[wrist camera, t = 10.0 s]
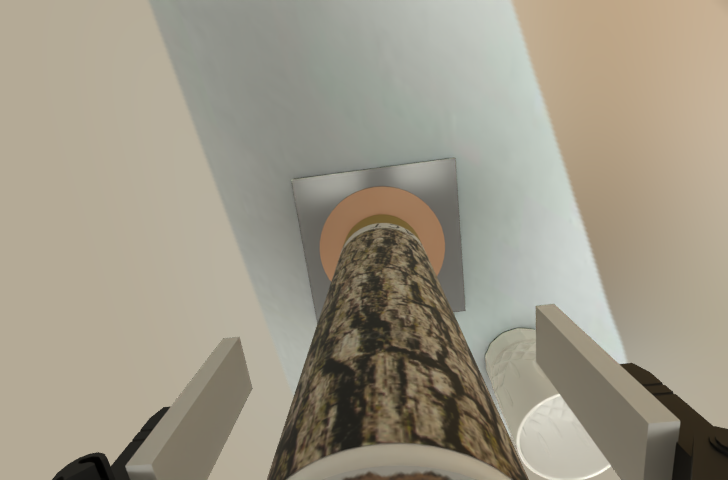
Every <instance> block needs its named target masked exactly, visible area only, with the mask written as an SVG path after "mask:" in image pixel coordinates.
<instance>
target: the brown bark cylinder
mask: <svg viewBox="0 0 728 480" xmlns="http://www.w3.org/2000/svg"><path fill="white" fill-rule="evenodd" d="M267 480H529V479H528V477H527V475H526V472H525V470H524V468H523V466H522V464H521V462H520V459H519V457H518V455H517V453H516V451H515V448H514V446H513V444H512V442H511V439H510V437H509V435H508V433H507V430H506V428H505V426H504V424H503V422H502V419H501V417H500V415H499V413H498V411H497V408H496V406H495V404H494V402H493V400H492V397H491V395H490V393H489V391H488V389H487V386H486V384H485V382H484V380H483V377H482V375H481V373H480V371H479V369H478V366H477V364H476V362H475V360H474V358H473V355H472V353H471V351H470V349H469V347H468V344H467V342H466V340H465V338H464V336H463V333H462V331H461V329H460V327H459V324H458V322H457V320H456V318H455V316H454V313H453V311H452V309H451V307H450V305H449V302H448V300H447V298H446V296H445V294H444V291H443V289H442V287H441V285H440V283H439V280H438V278H437V276H436V274H435V272H434V269H433V267H432V265H431V263H430V260H429V258H428V256H427V254H426V252H425V249H424V247H423V245H422V244H421V241H420V239H419V237H418V235H417V233H416V232H415V230H414V229H413V228H412V227H411V226H410V225H409V224H408V223H407V222H405V221H404V220H402V219H400V218H398V217H395V216H391V215H383V214H381V215H373V216H370V217H367V218H365V219H363V220H361V221H360V222H358V223H357V224H356V225H355V226H354V227H353V228H352V229H351V230H350V232H349V233H348V235H347V237H346V239H345V242H344V245H343V248H342V251H341V253H340V256H339V260H338V263H337V266H336V269H335V272H334V275H333V278H332V281H331V284H330V287H329V290H328V293H327V296H326V300H325V303H324V306H323V309H322V312H321V315H320V318H319V321H318V324H317V327H316V330H315V333H314V336H313V339H312V343H311V346H310V349H309V352H308V355H307V358H306V361H305V364H304V367H303V370H302V373H301V376H300V379H299V383H298V386H297V389H296V392H295V395H294V398H293V401H292V404H291V407H290V410H289V414H288V416H287V419H286V422H285V426H284V429H283V432H282V435H281V438H280V441H279V444H278V447H277V450H276V453H275V456H274V459H273V462H272V466H271V469H270V472H269V475H268V478H267Z"/></svg>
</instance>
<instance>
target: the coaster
mask: <svg viewBox="0 0 728 480" xmlns="http://www.w3.org/2000/svg"><path fill="white" fill-rule="evenodd" d="M291 182H292V188H293V193H294V199H295V204H296V209H297V215H298V220H299V226H300V231H301V237H302V242H303V248H304V253H305V259H306V264H307V270H308V275H309V281H310V286H311V292H312V297H313V303H314V308H315V314H316V319H317V324H318V321H319V318H320V315H321V312H322V309H323V306H324V303H325V300H326V296H327V293H328V290H329V287H330V284H331V281H332V278H333V275H334V272H335V269H336V266H337V263H338V260H339V256H340V253H341V251H342V248H343V245H344V242H345V239H346V237H347V235H348V233H349V232H350V230H351V229H352V228H353V227H354V226H355V225H356V224H357V223H358V222H360V221H361V220H363V219H365V218H367V217H370V216H373V215H381V214H383V215H391V216H395V217H398V218H400V219H402V220H404V221H405V222H407V223H408V224H409V225H410V226H411V227H412V228H413V229H414V230H415V232H416V233H417V235H418V237H419V239H420V241H421V244H422V245H423V247H424V249H425V252H426V254H427V256H428V258H429V260H430V263H431V265H432V267H433V269H434V272H435V274H436V276H437V278H438V280H439V283H440V285H441V287H442V289H443V291H444V294H445V296H446V298H447V300H448V302H449V305H450V307H451V309H452V311H453V312H459V311H466V310H465V295H464V280H463V265H462V250H461V235H460V220H459V205H458V190H457V175H456V160H455V158H448V159H440V160H433V161H425V162H418V163H410V164H403V165H395V166H388V167H380V168H373V169H365V170H357V171H350V172H342V173H335V174H327V175H320V176H312V177H305V178H297V179H292V180H291Z"/></svg>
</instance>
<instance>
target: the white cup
mask: <svg viewBox="0 0 728 480" xmlns="http://www.w3.org/2000/svg"><path fill="white" fill-rule="evenodd" d="M485 362H486V371H487V373H488V376H489V378H490V380H491V383H492V387H493V390H494V393H495V396H496V398H497V401H498V404H499V406H500V409H501V412H502V414H503V417H504V419H505V421H506V424H507V426H508V429H509V431H510V434H511V436H512V439H513V441H514V444H515V446H516V449H517V451H518V454H519V456H520V458H521V460H522V461H523V463H524V464H525V465H526V466H527V467H528V468H529V469H530V470H531V471H532V472H534V473H535V474H537V475H539V476H541V477H543V478H546V479H550V480H584V479H588V478H591V477H594V476H596V475H598V474H600V473H602V472H604V471H605V470H606V469H608V468H610V467H611V465H610V463H609V462H608V461H607V459H606V458H605V457H604V455H603V454H602V452H601V451H600V450H599V448H598V447H597V445H596V444H595V443H594V441H593V440H592V439H591V437H590V436H589V434H588V433H587V432H586V430H585V429H584V427H583V426H582V425H581V423H580V422H579V420H578V419H577V418H576V416H575V415H574V414H573V412H572V411H571V409H570V408H569V407H568V405H567V404H566V402H565V401H564V400H563V398H562V397H561V395H560V394H559V393H558V391H557V390H556V389H555V387H554V386H553V384H552V383H551V382H550V380H549V379H548V377H547V376H546V375H545V373H544V372H543V370H542V369H541V368H540V366H539V365H538V364H537V362H536V330H534V329H525V328H516V329H513V330H510V331H507V332H504V333H502V334H501V335H500V336H498V337H497V338H496V339H495V340H494V341H493V342H492V343H491V344H490V346H489V348H488V351H487V353H486V355H485Z"/></svg>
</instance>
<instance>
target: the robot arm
mask: <svg viewBox="0 0 728 480" xmlns="http://www.w3.org/2000/svg"><path fill="white" fill-rule="evenodd" d="M536 362H537V364H538V365H539V366H540V368H541V369H542V370H543V372H544V373H545V375H546V376H547V377H548V379H549V380H550V382H551V383H552V384H553V386H554V387H555V389H556V390H557V391H558V393H559V394H560V395H561V397H562V398H563V400H564V401H565V402H566V404H567V405H568V407H569V408H570V409H571V411H572V412H573V414H574V415H575V416H576V418H577V419H578V420H579V422H580V423H581V425H582V426H583V427H584V429H585V430H586V432H587V433H588V434H589V436H590V437H591V439H592V440H593V441H594V443H595V444H596V445H597V447H598V448H599V450H600V451H601V452H602V454H603V455H604V457H605V458H606V459H607V461H608V462H609V463H610V465H611V466H612V467H613V469H614V470H615V472H616V473H617V475H618V476H619V477H620V479H621V480H728V429H725V428H720V427H716V426H712V425H711V424H710V423H709V422H708V421H707V420H705V419H704V418H703V417H702V416H701V415H700V414H698V413H697V412H696V411H695V410H694V409H692V408H691V407H690V406H689V405H688V404H687V403H685V402H684V401H683V400H682V399H681V398H680V397H678V396H677V395H676V394H673V391H671V390H670V389H669V388H668V387H667V386H665V385H663V384H662V382H660V380H658V379H657V378H656V377H655V376H654V375H653V374H651V373H650V372H649V371H646V370H645V369H643V368H641V367H639V366H637V365H635V364H633V363H627V364H618V363H617V362H616V361H615V360H614V359H613V358H612V357H611V356H610V355H609V354H608V353H607V352H605V351H604V350H603V349H602V348H601V347H600V346H599V345H598V344H597V343H596V342H595V341H594V340H592V339H591V338H590V337H589V336H588V335H587V334H586V333H585V332H584V331H583V330H582V329H581V328H579V327H578V326H577V325H576V324H575V323H574V322H573V321H572V320H571V319H570V318H569V317H568V316H567V315H565V314H564V313H563V312H562V311H561V310H560V309H559V308H558V307H557V306H556V305H555V304H549V305H539V306H536ZM251 390H252V385H251V381H250V377H249V373H248V369H247V365H246V361H245V357H244V353H243V349H242V345H241V341H240V337H233V338H223V339H222V341H221V342H220V343H219V345H218V346H217V347H216V348H215V350H214V351H213V352H212V354H211V355H210V356H209V357H208V359H207V360H206V361H205V363H204V364H203V365H202V367H201V368H200V369H199V371H198V372H197V373H196V374H195V376H194V377H193V378H192V380H191V381H190V382H189V384H188V385H187V386H186V387H185V389H184V390H183V391H182V393H181V394H180V395H179V397H178V398H177V399H176V400H175V402H174V403H173V404H172V406H171V407H163V408H162V409H161V410H160V411H158V412H157V413H156V414H155V415H153V416H152V417H151V418H150V419H149V420H148V421H147V423H146V424H145V425H144V426H143V427H142V429H141V431H140V432H139V433H138V434H137V435H136V436H135V437H134V439H133V441H132V442H130V443H129V445H128V446H127V447H126V448H125V450H124V451H123V452H122V454H121V455H120V456H119V457H118V458H117V460H116V461H115V462H114V463H113V465H112V466H111V467H110V464H109V462H108V459H107V457H106V456H105V454H103V453H92V454H88V455H86V456H83V457H80V458H78V459H76V460H75V461H73V462H71V463H70V464H68V465H67V466H65V467H64V468H63V469H62V470H61V471H59V472H58V473H57V474H56V476H55V477H54V478H53V479H52V480H207V479H208V477H209V475H210V473H211V471H212V469H213V467H214V465H215V463H216V461H217V459H218V457H219V455H220V453H221V451H222V449H223V447H224V444H225V443H226V441H227V439H228V437H229V435H230V433H231V430H232V428H233V426H234V424H235V422H236V420H237V418H238V416H239V414H240V412H241V410H242V408H243V406H244V404H245V402H246V400H247V398H248V396H249V394H250V392H251Z"/></svg>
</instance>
